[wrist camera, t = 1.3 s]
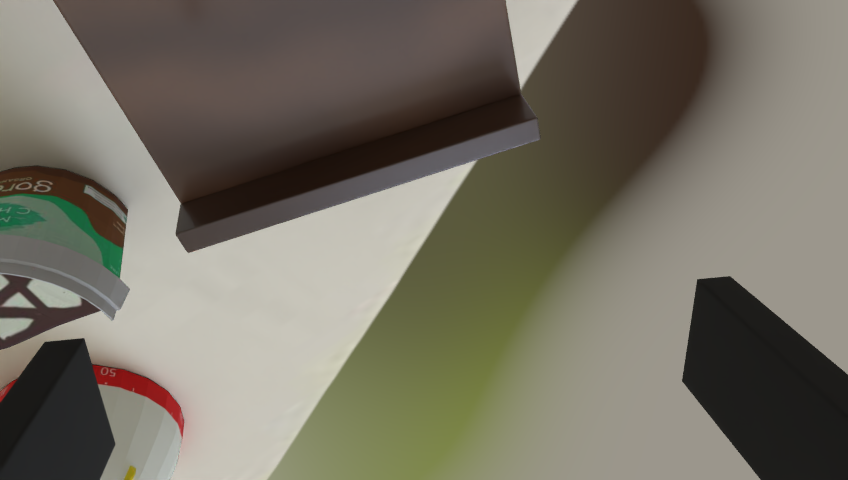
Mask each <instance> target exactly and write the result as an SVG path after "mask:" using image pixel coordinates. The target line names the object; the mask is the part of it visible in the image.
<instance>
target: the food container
mask: <svg viewBox="0 0 848 480" xmlns="http://www.w3.org/2000/svg"><path fill="white" fill-rule="evenodd" d="M127 213H128V209H127V208H126V207H125V206H124V205H123V203H122V202H121V201H120V200H119V199H118V198H117V197H116V196H115V195H114V194H112V193H111V192H109V191H108V190H106V189H105V188H103V187H102V186H101V185H99V184H98V183H96V182H95V181H93V180H91V179H88V178H86V177H83V176H80V175H78V174H75V173H73V172H70V171H67V170H63V169H56V168H49V167H42V166H29V167H18V168H12V169H9V170H5V171H2V172H0V350H1V349H5V348H8V347H11V346H13V345H16V344H18V343H20V342H23V341H25V340H27V339H30V338H32V337H34V336H36V335H38V334H40V333H43V332H45V331H47V330H49V329H52V328H54V327H56V326H59V325H61V324H64V323H67V322H70V321H73V320H75V319H78V318H81V317H84V316H87V315H90V314H93V313H96V312H99V311H102V312H103V313H104V314H105V315H106V316H108V317H109V318H110V319H111V320H114V316H115V313H116V310H120V309H121V307H122V305H123V303H124V301H125V298H126V296H127V294H128V292H129V290H130V289H129V288H128V287H127V286H126V285H125V284H124V283H123V282H122V281H121V280H120V272H121V264H122V255H123V247H124V238H125V230H126V221H127Z"/></svg>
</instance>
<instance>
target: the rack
mask: <svg viewBox="0 0 848 480" xmlns="http://www.w3.org/2000/svg"><path fill="white" fill-rule="evenodd" d="M53 1H54V2H55V4H56V6H57V7H58V9H59V10H60V12H61V14H62V15H63V17H64V18H65V20H66V22H67V23H68V25H69V26H70V28H71V29H72V31H73V33H74V34H75V36H76V37H77V39H78V41H79V42H80V44H81V45H82V47H83V48H84V50H85V52H86V53H87V55H88V56H89V58H90V60H91V61H92V63H93V64H94V66H95V68H96V69H97V71H98V72H99V74H100V75H101V77H102V79H103V80H104V82H105V83H106V85H107V87H108V88H109V90H110V91H111V93H112V95H113V96H114V98H115V99H116V101H117V102H118V104H119V106H120V107H121V109H122V110H123V112H124V114H125V115H126V117H127V118H128V120H129V122H130V123H131V125H132V126H133V128H134V129H135V131H136V133H137V134H138V136H139V137H140V139H141V141H142V142H143V144H144V145H145V147H146V149H147V150H148V152H149V153H150V155H151V156H152V158H153V160H154V161H155V163H156V164H157V166H158V168H159V169H160V171H161V172H162V174H163V175H164V177H165V179H166V180H167V182H168V183H169V185H170V187H171V188H172V190H173V191H174V193H175V195H176V196H177V198H178V199H179V201H180V202H181V205H180V211H179V217H178V223H177V229H176V236H177V237H178V239H179V241H180V242H181V244H182V245H183V247H184V248H185V250H186V251H187V252H188V253H189V252H193V251H196V250H199V249H202V248H205V247H208V246H211V245H214V244H217V243H220V242H224V241H227V240H230V239H233V238H236V237H239V236H242V235H245V234H248V233H252V232H255V231H258V230H261V229H264V228H267V227H270V226H273V225H276V224H279V223H283V222H286V221H289V220H292V219H295V218H298V217H301V216H304V215H307V214H310V213H314V212H317V211H320V210H323V209H326V208H329V207H332V206H335V205H338V204H342V203H345V202H348V201H351V200H354V199H357V198H360V197H363V196H366V195H369V194H373V193H376V192H379V191H382V190H385V189H388V188H391V187H394V186H397V185H400V184H404V183H407V182H410V181H413V180H416V179H419V178H422V177H425V176H428V175H432V174H435V173H438V172H441V171H444V170H447V169H450V168H453V167H456V166H459V165H463V164H466V163H469V162H472V161H475V160H478V159H481V158H484V157H487V156H490V155H494V154H497V153H500V152H503V151H506V150H509V149H512V148H515V147H518V146H521V145H525V144H528V143H531V142H534V141H537V140H540V138H541V137H540V130H539V123H538V118H537V117H536V115H535V113H534V112H533V111H532V109H531V108H530V106H529V104H528V103H527V102H526V100H525V99H524V97H523V96H522V94H521V90H520V84H519V78H518V72H517V66H516V60H515V55H514V49H513V43H512V37H511V31H510V25H509V19H508V13H507V7H506V1H505V0H53Z"/></svg>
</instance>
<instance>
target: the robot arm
mask: <svg viewBox="0 0 848 480" xmlns="http://www.w3.org/2000/svg"><path fill="white" fill-rule="evenodd" d="M682 382H683V383H684V384H685V385H686V386H687V388H688V389H689V390H690V392H691V393H692V394H693V395H694V396H695V398H696V399H697V400H698V402H699V403H700V404H701V405H702V407H703V408H704V409H705V410H706V412H707V413H708V414H709V415H710V416H711V418H712V419H713V420H714V421H715V423H716V424H717V425H718V427H719V428H720V429H721V430H722V432H723V433H724V434H725V435H726V437H727V438H728V439H729V440H730V442H732V444H733V445H734V446H735V448H736V449H737V450H738V452H739V453H740V454H741V455H742V457H743V458H744V459H745V460H746V462H747V463H748V464H749V465H750V467H751V468H752V469H753V470H754V472H755V473H756V474H757V475H758V477H759V478H760V479H761V480H848V375H847V374H846V373H845V372H844V371H843V370H842V369H840V368H839V367H838V366H837V365H836V364H834V363H833V362H832V361H831V360H830V359H828V358H827V357H826V356H825V355H824V354H822V353H821V352H820V351H819V350H818V349H816V348H815V347H814V346H813V345H812V344H810V343H809V342H808V341H807V340H806V339H804V338H803V337H802V336H801V335H800V334H798V333H797V332H796V331H795V330H794V329H792V328H791V327H790V326H789V325H788V324H786V323H785V322H784V321H783V320H782V319H781V318H779V317H778V316H777V315H776V314H774V313H773V312H772V311H771V310H770V309H769V308H767V307H766V306H765V305H764V304H762V303H761V302H760V301H759V300H758V299H757V298H755V297H754V296H753V295H752V294H750V293H749V292H748V291H747V290H746V289H745V288H743V287H742V286H741V285H740V284H738V283H737V282H736V281H735V280H734V279H733V278H731V277H730V276H728V277H718V278H707V279H698V280H697V285H696V292H695V299H694V305H693V312H692V319H691V325H690V332H689V339H688V346H687V352H686V359H685V365H684V372H683V379H682ZM114 447H115V440H114V437H113V433H112V430H111V427H110V423H109V420H108V417H107V413H106V410H105V407H104V403H103V400H102V397H101V393H100V390H99V386H98V383H97V380H96V376H95V373H94V370H93V366H92V363H91V360H90V356H89V353H88V350H87V346H86V343H85V340H84V338H82V339H71V340H61V341H50V342H44V344H43V345H42V346H41V348H40V349H39V351H38V352H37V353H36V355H35V356H34V357H33V359H32V360H31V361H30V363H29V364H28V365H27V367H26V368H25V370H24V371H23V372H22V374H21V375H20V376H19V378H18V379H17V380H16V382H15V383H14V384H13V386H12V387H11V389H10V390H9V391H8V393H7V394H6V395H5V397H4V398H3V399H2V401H1V402H0V480H100V478H101V476H102V474H103V472H104V469H105V467H106V465H107V462H108V460H109V458H110V456H111V453H112V451H113V449H114Z"/></svg>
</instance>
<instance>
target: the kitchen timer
mask: <svg viewBox="0 0 848 480" xmlns="http://www.w3.org/2000/svg"><path fill="white" fill-rule="evenodd" d="M92 366H93V370H94V373H95V376H96V380H97V383H98V386H99V390H100V393H101V397H102V400H103V403H104V407H105V410H106V413H107V417H108V420H109V423H110V427H111V430H112V433H113V437H114V440H115V447H114V449H113V451H112V453H111V456H110V458H109V460H108V462H107V465H106V467H105V469H104V472H103V474H102V476H101V478H100V480H170V479H171V477H172V474H173V472H174V470H175V467H176V464H177V460H178V456H179V452H180V447H181V442H182V436H183V427H184V419H183V416H182V412H181V408H180V406H179V404H178V403H177V402H176V401H175V400H174V398H173V397H172V396H171V395H170V393H169V392H168V391H166V390H165V389H163V388H162V387H160V386H159V385H157V384H156V383H154V382H153V381H151V380H150V379H148V378H145V377H142V376H139V375H137V374H134V373H131V372H129V371H126V370H122V369H116V368H110V367H104V366H98V365H92ZM16 380H17V379H16ZM16 380H14V381H12V382H11V383H10V384H9V385H7V386H6V387H5V388H4V389H3V390H1V391H0V402H1V401H2V399H3V398H4V397H5V395H6V394H7V393H8V391H9V390H10V389H11V387H12V386H13V384H14V383H15V382H16Z"/></svg>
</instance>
